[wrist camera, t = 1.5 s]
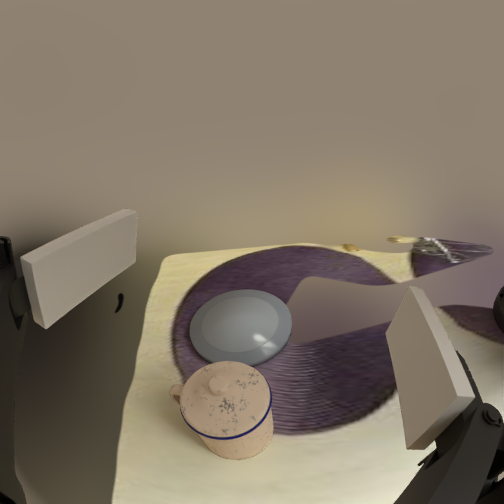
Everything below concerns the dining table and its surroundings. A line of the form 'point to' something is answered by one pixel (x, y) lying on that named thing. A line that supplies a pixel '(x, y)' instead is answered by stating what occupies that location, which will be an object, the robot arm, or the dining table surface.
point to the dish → (241, 327)
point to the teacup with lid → (228, 408)
